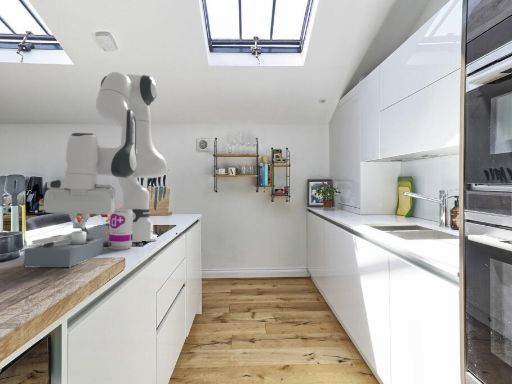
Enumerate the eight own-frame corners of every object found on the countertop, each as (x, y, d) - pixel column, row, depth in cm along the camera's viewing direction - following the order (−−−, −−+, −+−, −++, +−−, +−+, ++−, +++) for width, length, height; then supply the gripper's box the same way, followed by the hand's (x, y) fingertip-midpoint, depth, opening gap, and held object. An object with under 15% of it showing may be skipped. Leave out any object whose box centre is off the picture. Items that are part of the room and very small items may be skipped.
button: (75, 242, 99) (75, 230, 99) (88, 242, 99) (88, 231, 99) (68, 244, 95) (69, 232, 95) (82, 244, 95) (82, 232, 96)
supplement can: (123, 250, 115) (125, 209, 115) (103, 249, 116) (105, 208, 117) (136, 247, 123) (137, 209, 123) (117, 245, 124) (119, 208, 125)
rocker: (41, 242, 93) (40, 238, 93) (65, 238, 93) (64, 234, 93) (32, 244, 89) (31, 240, 89) (57, 239, 89) (57, 235, 89)
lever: (85, 235, 104) (75, 217, 104) (91, 232, 104) (81, 215, 104) (82, 236, 102) (72, 218, 102) (88, 233, 102) (78, 215, 102)
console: (66, 252, 108) (67, 235, 108) (102, 253, 108) (103, 236, 108) (23, 267, 86) (24, 245, 86) (69, 268, 86) (70, 246, 87)
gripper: (119, 185, 101) (117, 228, 101) (53, 183, 100) (51, 226, 100) (111, 184, 95) (109, 230, 95) (41, 182, 94) (39, 228, 93)
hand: (79, 228), depth 97 cm, fingers closed
